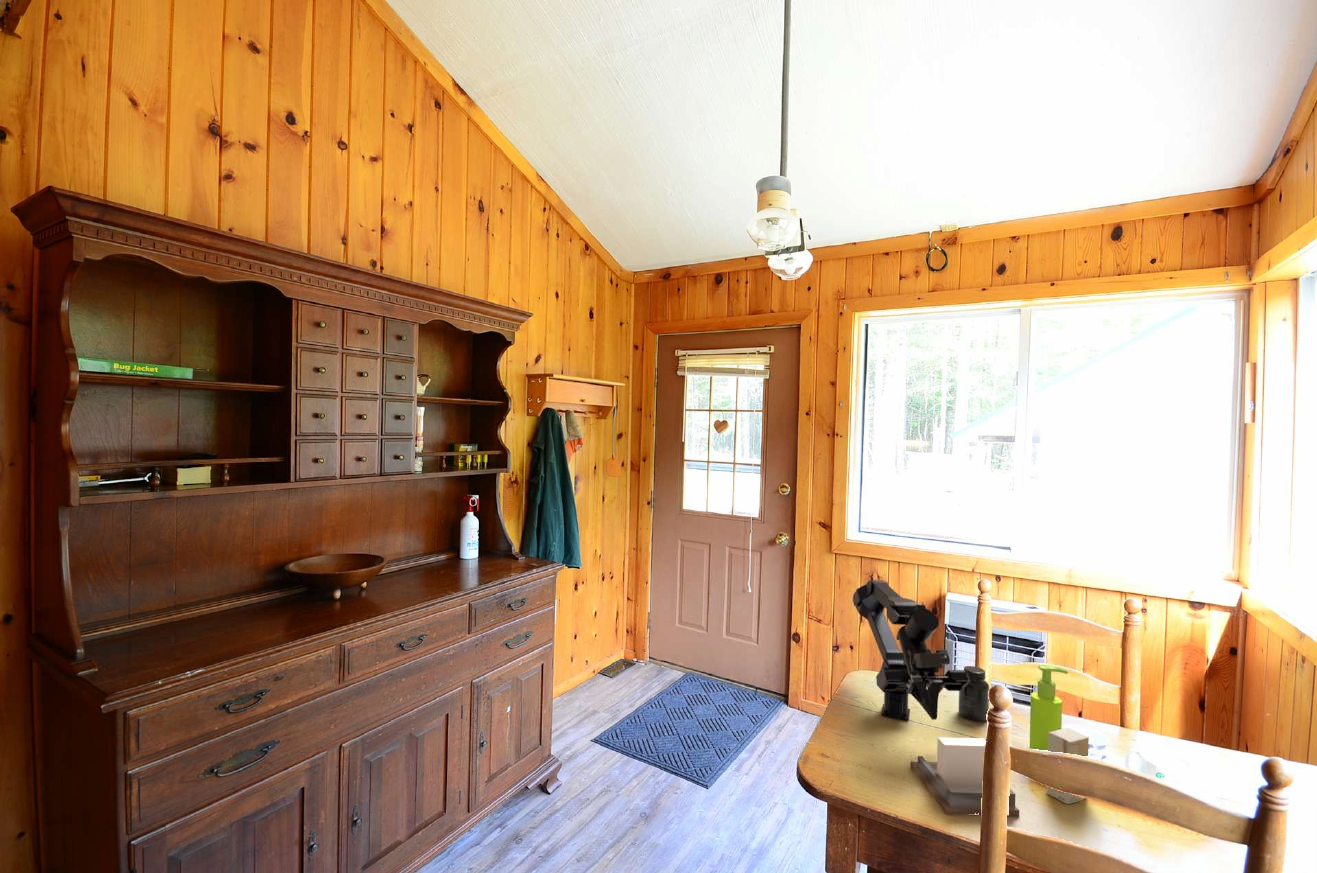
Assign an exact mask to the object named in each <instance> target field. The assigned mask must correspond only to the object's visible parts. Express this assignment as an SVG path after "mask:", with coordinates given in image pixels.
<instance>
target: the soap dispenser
mask: <svg viewBox="0 0 1317 873" xmlns="http://www.w3.org/2000/svg"><path fill="white" fill-rule="evenodd" d="M1037 668H1038V670H1040V671H1041V672H1042V673H1041V674H1042V675H1041V676H1042V677H1041V678H1038V679H1037V687H1036V688H1037V691H1034V692H1031V693H1030V707H1029V708H1030V709H1029V710H1030V714H1029V715H1030V717H1029V749H1030V748H1031V749H1039V750H1048V736H1049V732H1052V731H1056V730H1061V729H1062V724H1063V723H1062V721H1063V719H1062V718H1063V717H1062V715H1063V700H1062V699H1061V698H1060V697H1058V696H1056V686H1057V684H1056V682H1055V681H1053V680H1052V672H1053V673H1054V672H1056V673H1061V674H1062V673H1063V674H1068V673H1069V671H1068V670H1067V669H1064V668H1063V667H1060V666H1054V665H1044V664H1042V665H1038V667H1037Z"/></svg>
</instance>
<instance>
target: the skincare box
mask: <svg viewBox="0 0 1317 873" xmlns="http://www.w3.org/2000/svg"><path fill="white" fill-rule="evenodd" d="M1089 738H1090V737H1089V736H1087V735H1084V734H1083V733H1080V732H1078V731H1076V730H1073V729H1071V728H1069V727H1065V728H1061V730H1056V731H1052V732H1049V736H1048V751H1051V752H1063V753H1070V754H1077V755H1081V756H1088V757H1089ZM1046 793H1047V794H1048V795H1050V796H1052V797H1054V798H1055V799H1057V800H1059V801H1061V802H1062V803H1065V804H1067V805H1070V804H1074V803H1076V802H1081V801H1082V800H1083V801H1084V800H1087V798H1081V797H1079V796H1075V795H1072V794H1069V793H1064V792H1061V791H1057V790H1055V789H1051V788H1050V787H1047V786H1046Z"/></svg>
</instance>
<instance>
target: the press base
mask: <svg viewBox="0 0 1317 873" xmlns="http://www.w3.org/2000/svg"><path fill="white" fill-rule="evenodd" d="M909 762H910V769H911V770H912V772H914V774H915V775H916V776H917V778H918V779H919V781H920V782H921V783H922V785H923V786H924V787H925V789H926V790H927V791H928V792H929V794H930V793H931V794H930V795H931V796H932V797H933V800H935V802H936V803H937V804H938V805H939V807H940V808H941V810H942V811H943V812H944V813H945V815H947V816H949V815H950V816H951V815H953V814H959V815H958V816H961V815H960V814H975V813H976V814H978V813H979V816H980V815H981V798H982V788H957V787H947V786H946V784H945V783H944V782H943V781H942V780H941V778H940V777H939V776H938V775H937V761H927V760H926V758H924V756H923V755H917V761H915V760H914V761H913V760H912V761H909ZM1009 789H1010V796H1009V816H1008V817H1017V818H1019V817H1020V809H1019V808H1018V807H1017V806H1016V793H1015V792H1014V791H1013V790H1012V789H1011V788H1009ZM953 816H954V815H953Z"/></svg>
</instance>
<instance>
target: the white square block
mask: <svg viewBox="0 0 1317 873" xmlns="http://www.w3.org/2000/svg"><path fill="white" fill-rule="evenodd" d="M986 742H987V741H986V739H985V738H979V737H978V738H977V737H976V738H975V737H972V738H971V737H944V736H943V737H941V736H938V737H937V745H936V746H937V749H936V750H937V753H936V762H937V775H938V776H939V777H940V778H941V780H942V781H943V782H944V783H945V784H946V786H947V787H957V788H982V781H983V758H984V752H985V745H986Z"/></svg>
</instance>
